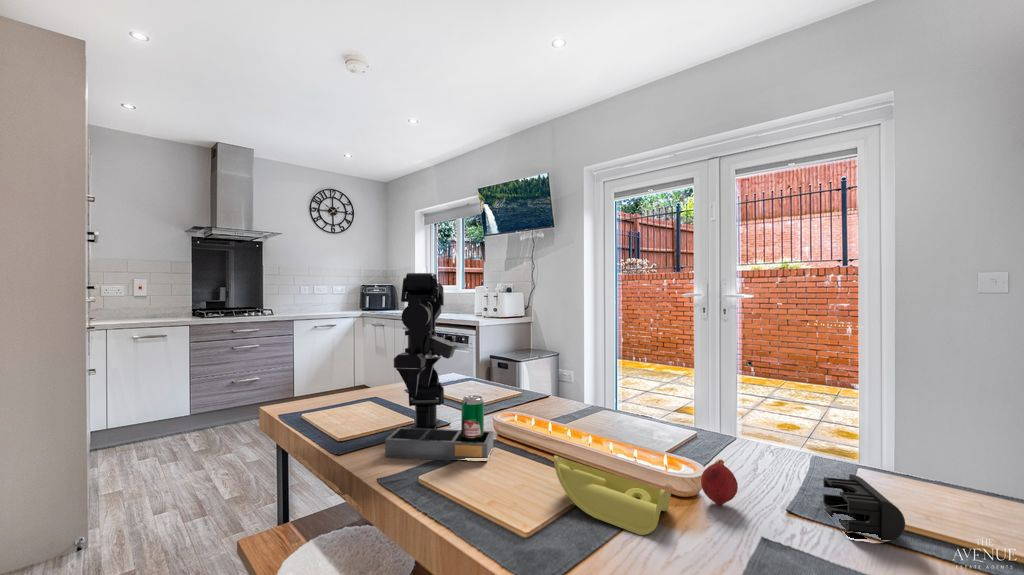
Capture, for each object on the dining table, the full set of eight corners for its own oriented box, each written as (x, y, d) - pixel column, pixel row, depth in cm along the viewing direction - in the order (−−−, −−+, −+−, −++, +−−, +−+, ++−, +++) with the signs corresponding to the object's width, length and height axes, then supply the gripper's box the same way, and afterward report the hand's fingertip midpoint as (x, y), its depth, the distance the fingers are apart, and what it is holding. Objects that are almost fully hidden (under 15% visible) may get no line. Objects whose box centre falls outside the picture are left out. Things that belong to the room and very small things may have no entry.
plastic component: (673, 493, 78) (662, 489, 70) (665, 539, 76) (653, 540, 68) (570, 460, 89) (550, 453, 81) (560, 499, 86) (539, 496, 79)
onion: (721, 516, 75) (722, 468, 75) (693, 501, 80) (693, 456, 80) (744, 508, 77) (745, 462, 77) (715, 494, 83) (716, 451, 83)
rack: (398, 444, 108) (398, 427, 108) (493, 448, 105) (493, 431, 105) (384, 457, 99) (384, 439, 99) (487, 462, 97) (487, 444, 97)
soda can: (458, 453, 99) (459, 399, 99) (464, 445, 104) (464, 394, 104) (481, 455, 99) (481, 400, 99) (485, 447, 104) (485, 395, 104)
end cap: (905, 549, 66) (906, 503, 66) (850, 542, 68) (850, 498, 67) (869, 515, 75) (870, 475, 75) (821, 510, 77) (822, 471, 77)
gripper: (442, 330, 96) (442, 403, 96) (462, 322, 115) (462, 383, 115) (392, 329, 97) (392, 401, 97) (420, 322, 116) (420, 382, 116)
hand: (420, 391), depth 106 cm, fingers open, 9 cm apart
